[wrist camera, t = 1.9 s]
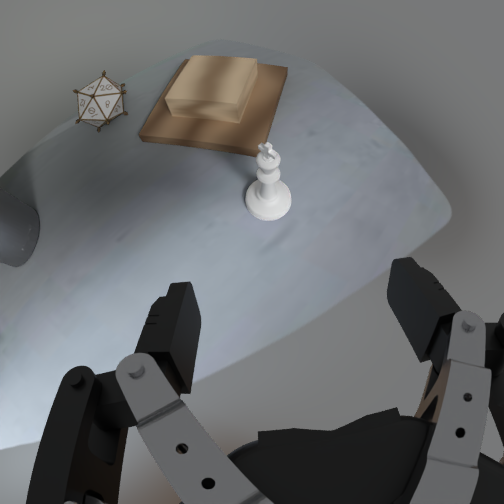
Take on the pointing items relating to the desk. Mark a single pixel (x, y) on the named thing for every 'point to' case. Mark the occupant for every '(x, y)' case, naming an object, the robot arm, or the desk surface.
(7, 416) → the desk surface
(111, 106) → the game die
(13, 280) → the desk surface
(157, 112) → the walnut base
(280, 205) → the chess piece
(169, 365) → the robot arm
